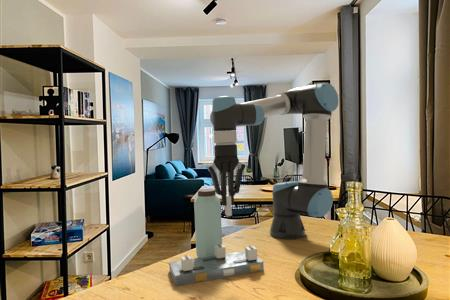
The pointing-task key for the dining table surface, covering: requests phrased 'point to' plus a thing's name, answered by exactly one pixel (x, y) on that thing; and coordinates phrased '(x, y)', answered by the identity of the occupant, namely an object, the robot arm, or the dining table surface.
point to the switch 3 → (251, 253)
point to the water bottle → (207, 222)
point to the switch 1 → (186, 263)
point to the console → (214, 268)
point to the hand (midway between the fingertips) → (228, 214)
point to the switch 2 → (220, 251)
